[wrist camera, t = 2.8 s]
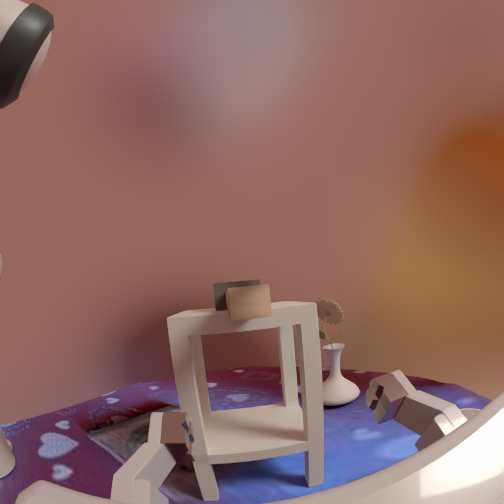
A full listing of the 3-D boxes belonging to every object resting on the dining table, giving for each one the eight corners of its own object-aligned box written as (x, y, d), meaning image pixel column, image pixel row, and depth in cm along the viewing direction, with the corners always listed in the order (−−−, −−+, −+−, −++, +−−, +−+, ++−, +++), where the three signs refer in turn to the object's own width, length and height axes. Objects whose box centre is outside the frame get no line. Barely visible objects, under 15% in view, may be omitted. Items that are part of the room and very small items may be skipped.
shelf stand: (203, 500, 23) (167, 317, 27) (207, 452, 37) (185, 310, 40) (323, 483, 25) (316, 303, 29) (297, 440, 39) (286, 301, 42)
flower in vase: (369, 398, 50) (365, 292, 54) (327, 415, 47) (320, 300, 51) (338, 386, 63) (332, 294, 66) (300, 397, 59) (292, 300, 63)
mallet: (210, 322, 19) (205, 274, 19) (216, 309, 37) (214, 284, 38) (291, 314, 20) (287, 267, 20) (258, 305, 38) (256, 280, 38)
